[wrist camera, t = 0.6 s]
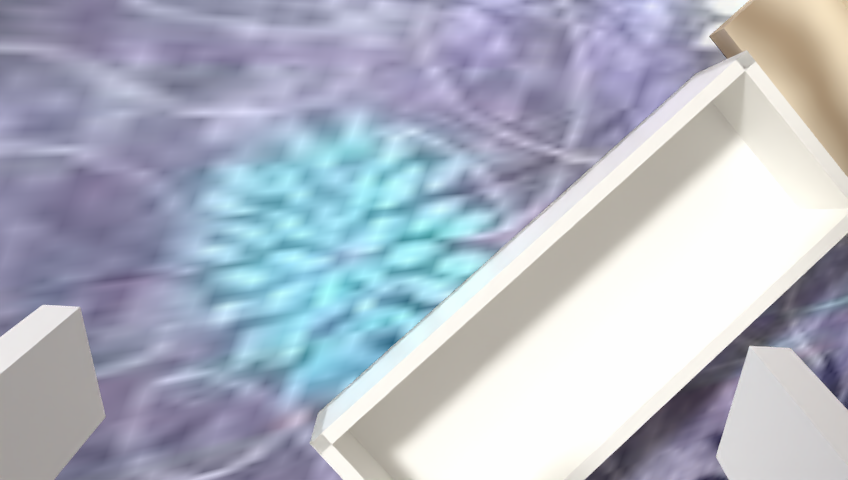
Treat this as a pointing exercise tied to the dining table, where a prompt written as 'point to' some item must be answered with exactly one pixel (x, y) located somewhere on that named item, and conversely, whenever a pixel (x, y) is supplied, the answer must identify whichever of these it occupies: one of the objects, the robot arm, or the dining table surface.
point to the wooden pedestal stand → (799, 60)
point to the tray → (602, 297)
